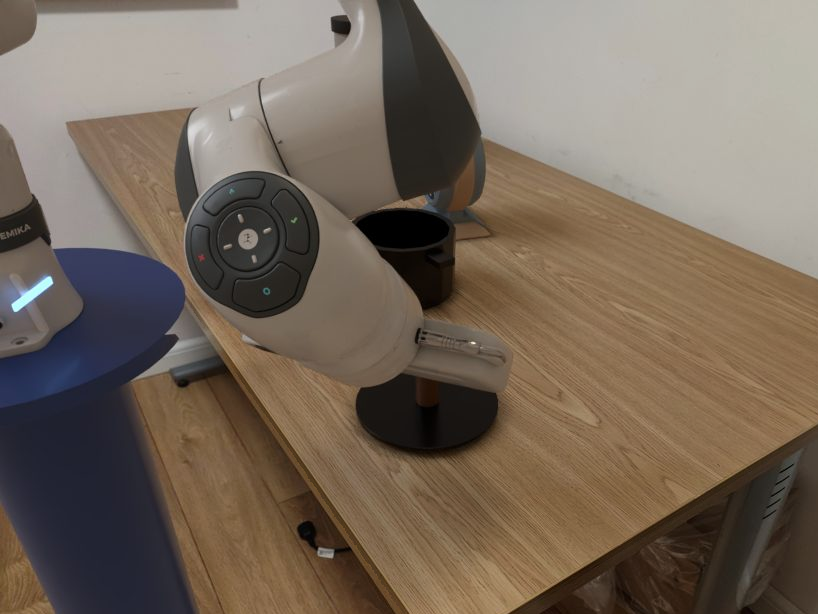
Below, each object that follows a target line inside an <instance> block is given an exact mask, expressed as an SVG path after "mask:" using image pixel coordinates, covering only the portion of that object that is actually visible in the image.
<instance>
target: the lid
mask: <svg viewBox="0 0 818 614" xmlns="http://www.w3.org/2000/svg"><path fill="white" fill-rule="evenodd" d="M499 402H500V401H499V397H498V393H493V392H487V391H483V390H478V389H473V388H469V387H464V386H460V385H455V384H450V383H446V382H441V381H436V380H432V379H427V378H423V377H418V376H413V375H409V374H404V373H400V374H398V375H397V376H396V377H394V378H393V379H391V380H389V381H387V382H385V383H382V384H379V385H376V386H371V387H359V390H358V392H357V394H356V397H355V406H354V407H355V414H356V417H357V419H358V422H359V423H360V425H361V426H362V428H363V429H364V430H365V431H366V432H367V433H368V434H369V435H370V436H371V437H372V438H374V439H376V440H377V441H379V442H380V443H382V444H385V445H387V446H389V447H393V448H396V449H399V450H404V451H408V452H416V453H438V452H445V451H446V452H447V451H450V450H451V451H452V450H455V449H458V448H462V447H464V446H466V445H468V444H472V443H473V442H475V441H477V440H479V439H480V438H481V437H482V436H484V435H485V434H486V433H487V432H489V430H490V429H491V428H492V426H493V425H494V423H495V422H496V419H497V417H498V413H499Z"/></svg>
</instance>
